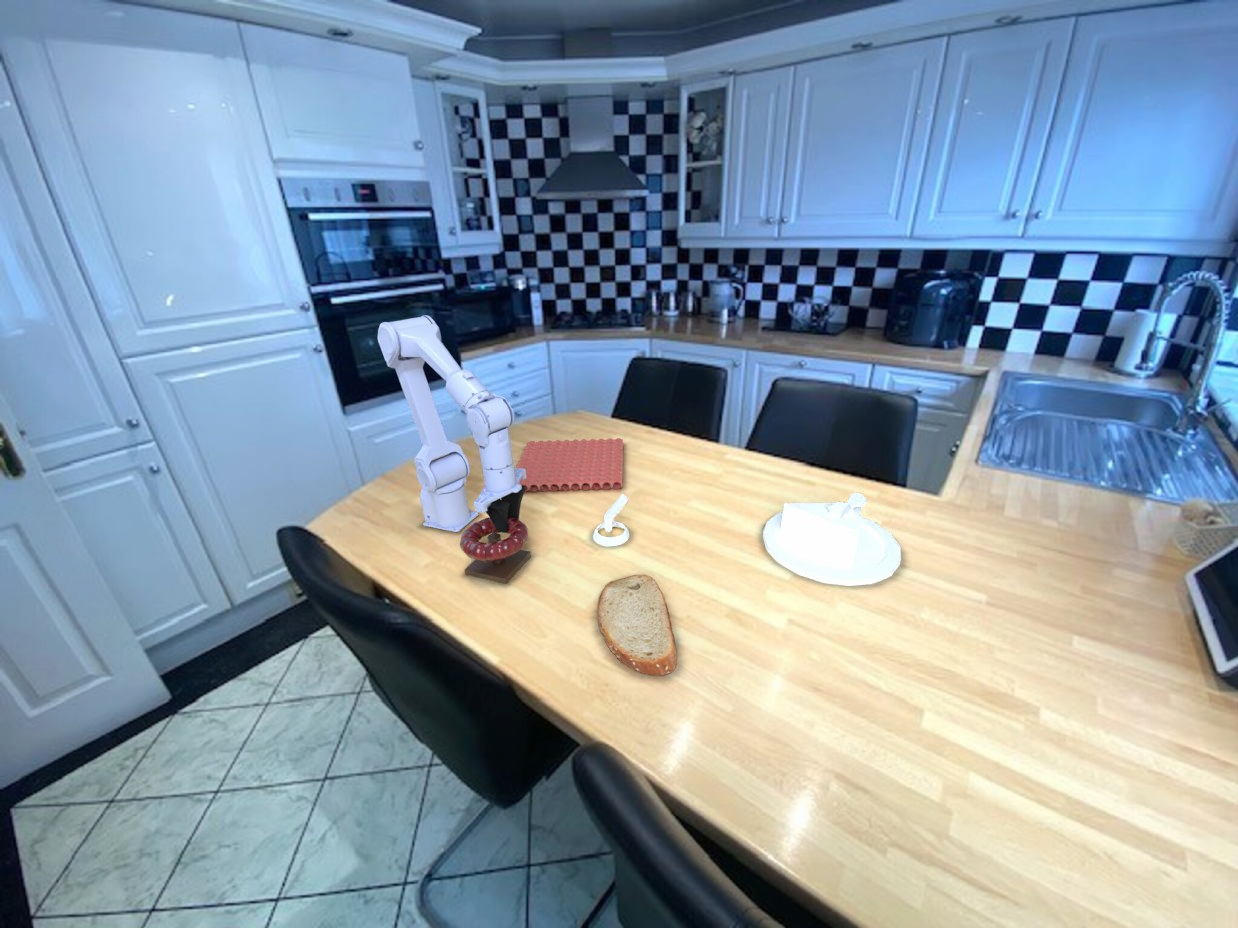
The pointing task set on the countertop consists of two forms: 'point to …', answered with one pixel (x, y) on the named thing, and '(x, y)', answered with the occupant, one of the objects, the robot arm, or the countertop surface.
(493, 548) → the ring
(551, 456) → the egg carton
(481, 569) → the post
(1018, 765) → the countertop surface
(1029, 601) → the countertop surface
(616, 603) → the bread slice
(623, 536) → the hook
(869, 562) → the dish
